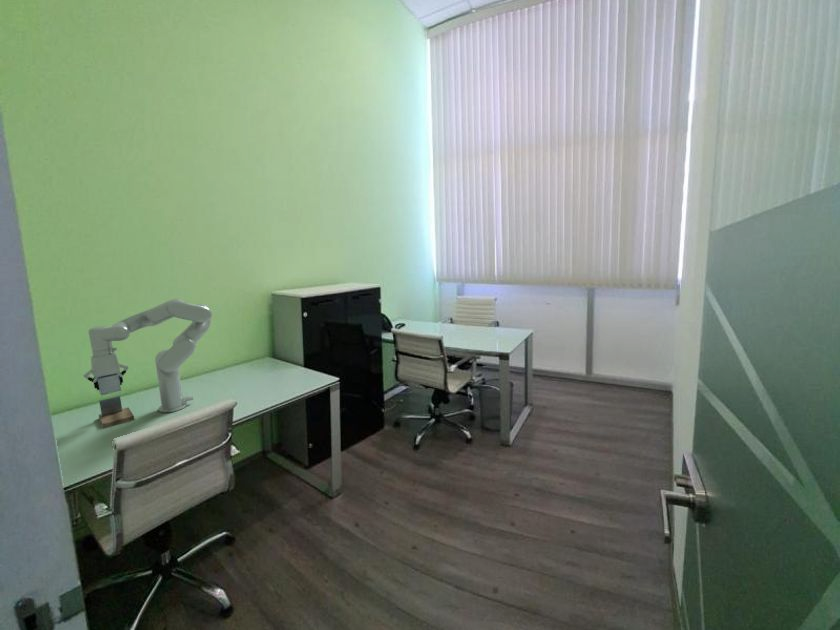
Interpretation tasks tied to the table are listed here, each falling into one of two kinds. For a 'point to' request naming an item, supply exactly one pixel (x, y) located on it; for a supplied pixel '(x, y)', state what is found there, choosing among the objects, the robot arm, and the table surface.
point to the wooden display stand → (113, 412)
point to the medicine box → (109, 384)
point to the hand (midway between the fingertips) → (109, 386)
